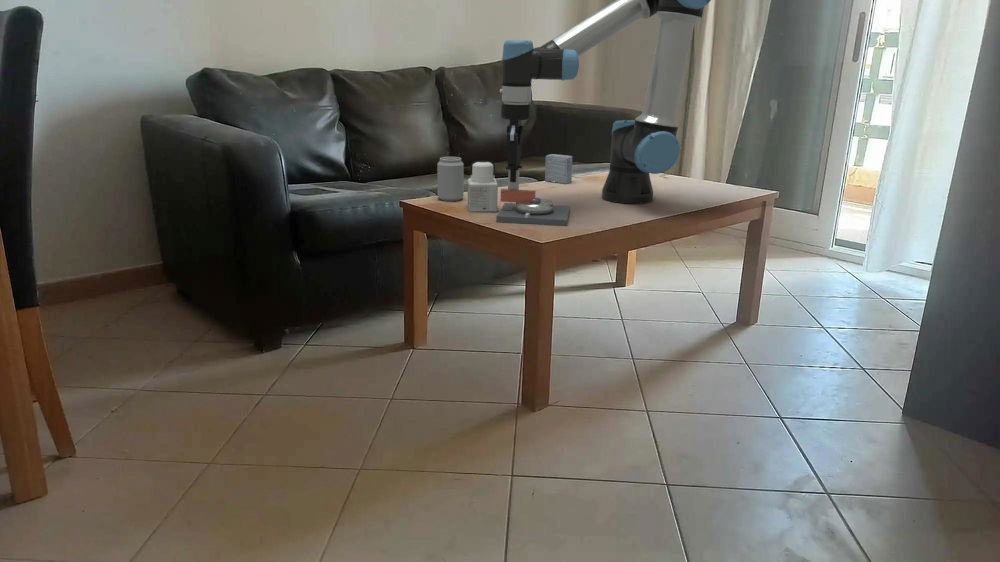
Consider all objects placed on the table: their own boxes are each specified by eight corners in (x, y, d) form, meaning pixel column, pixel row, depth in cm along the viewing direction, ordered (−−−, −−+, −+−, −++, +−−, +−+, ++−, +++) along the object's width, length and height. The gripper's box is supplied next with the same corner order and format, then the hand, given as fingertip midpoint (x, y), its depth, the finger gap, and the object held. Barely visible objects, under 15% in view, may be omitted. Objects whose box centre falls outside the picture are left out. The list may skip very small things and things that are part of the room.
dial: (554, 206, 195) (555, 188, 193) (552, 215, 185) (552, 196, 184) (503, 204, 196) (503, 185, 195) (498, 212, 187) (498, 193, 185)
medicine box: (571, 182, 238) (573, 156, 235) (565, 184, 234) (567, 157, 231) (550, 179, 241) (551, 153, 239) (544, 181, 238) (545, 155, 235)
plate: (569, 211, 198) (570, 203, 197) (566, 225, 183) (567, 217, 182) (504, 208, 200) (504, 199, 199) (496, 221, 185) (496, 213, 184)
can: (459, 202, 205) (459, 160, 201) (434, 200, 207) (434, 159, 203) (466, 197, 212) (466, 156, 208) (441, 195, 214) (441, 155, 210)
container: (467, 205, 202) (467, 159, 198) (495, 205, 203) (496, 159, 198) (468, 211, 195) (469, 163, 191) (497, 212, 195) (498, 164, 191)
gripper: (505, 100, 192) (502, 188, 200) (497, 104, 180) (495, 197, 187) (533, 101, 191) (529, 189, 199) (527, 105, 179) (524, 199, 186)
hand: (513, 193), depth 193 cm, fingers closed
